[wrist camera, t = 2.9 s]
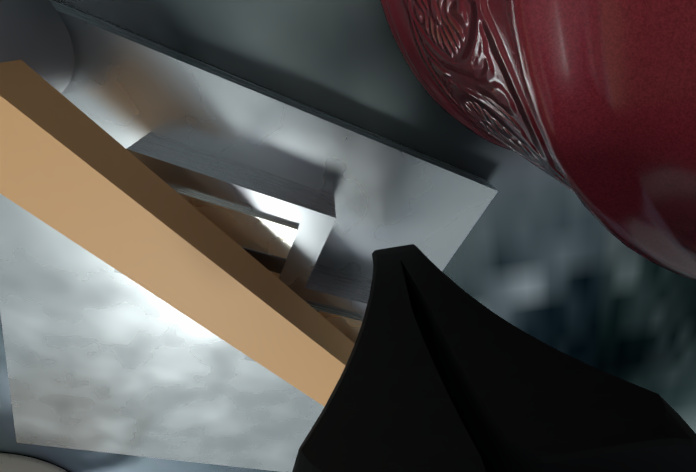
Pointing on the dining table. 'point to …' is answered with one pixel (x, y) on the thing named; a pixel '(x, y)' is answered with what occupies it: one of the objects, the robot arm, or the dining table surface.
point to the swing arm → (142, 213)
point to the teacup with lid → (25, 464)
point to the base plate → (233, 219)
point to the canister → (576, 100)
